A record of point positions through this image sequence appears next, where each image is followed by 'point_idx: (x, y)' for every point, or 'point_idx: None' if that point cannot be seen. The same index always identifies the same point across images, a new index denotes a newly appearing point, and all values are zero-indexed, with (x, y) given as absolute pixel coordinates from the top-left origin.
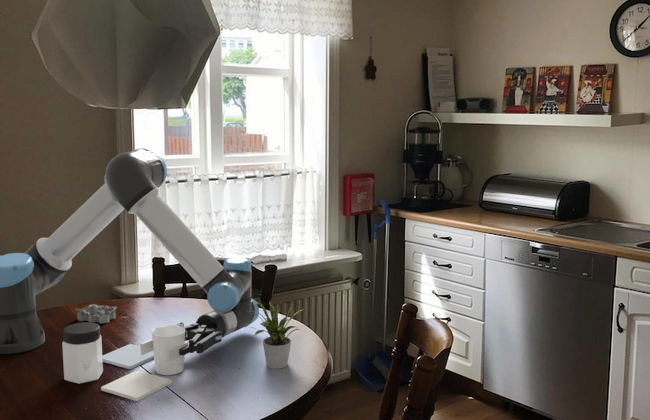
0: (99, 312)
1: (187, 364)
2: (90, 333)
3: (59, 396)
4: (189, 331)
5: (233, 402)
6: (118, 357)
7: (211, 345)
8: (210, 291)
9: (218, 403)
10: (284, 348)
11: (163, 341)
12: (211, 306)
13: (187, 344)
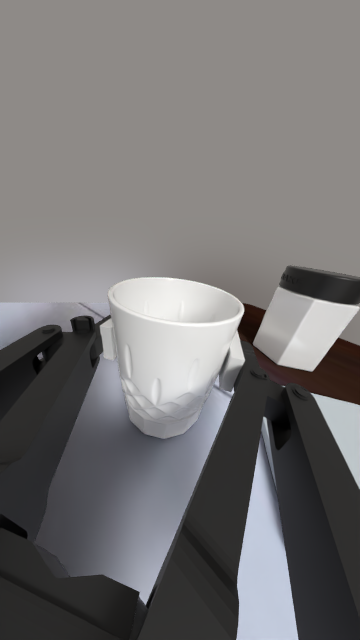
0: None
1: (123, 463)
2: (286, 268)
3: (244, 317)
4: (113, 580)
5: (22, 317)
6: (334, 419)
7: None
8: None
9: (50, 315)
10: None
11: (167, 292)
12: None
13: (101, 331)
